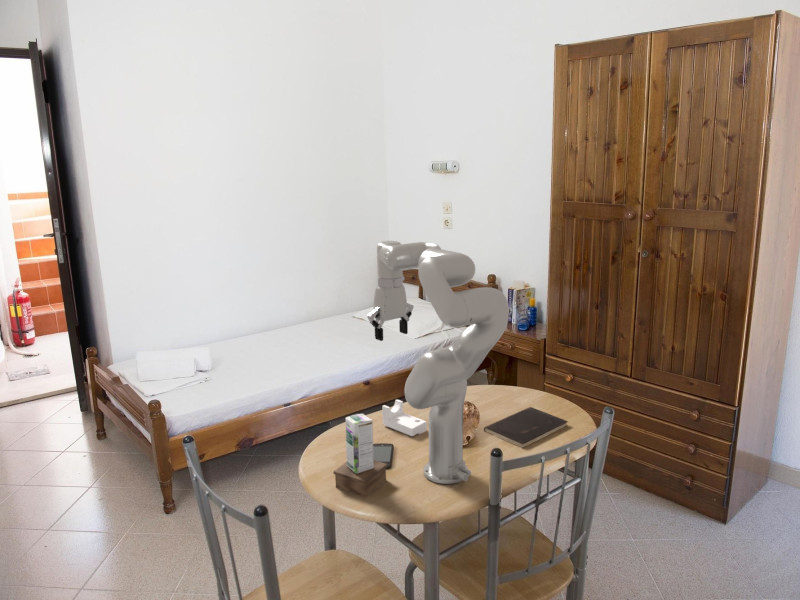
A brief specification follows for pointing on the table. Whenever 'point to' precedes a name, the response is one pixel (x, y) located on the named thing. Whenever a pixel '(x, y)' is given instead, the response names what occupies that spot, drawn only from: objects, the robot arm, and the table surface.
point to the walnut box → (360, 478)
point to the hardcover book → (525, 426)
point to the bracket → (402, 420)
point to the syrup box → (359, 443)
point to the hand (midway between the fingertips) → (391, 336)
